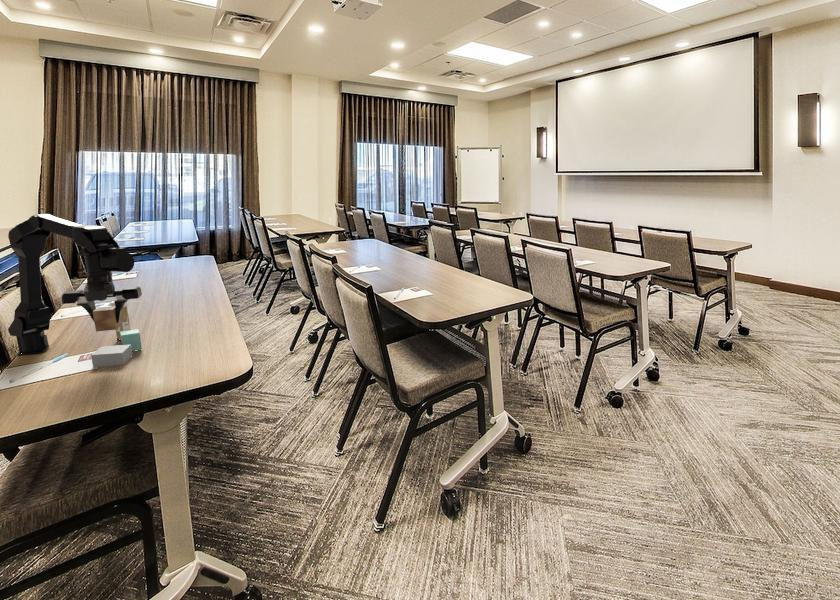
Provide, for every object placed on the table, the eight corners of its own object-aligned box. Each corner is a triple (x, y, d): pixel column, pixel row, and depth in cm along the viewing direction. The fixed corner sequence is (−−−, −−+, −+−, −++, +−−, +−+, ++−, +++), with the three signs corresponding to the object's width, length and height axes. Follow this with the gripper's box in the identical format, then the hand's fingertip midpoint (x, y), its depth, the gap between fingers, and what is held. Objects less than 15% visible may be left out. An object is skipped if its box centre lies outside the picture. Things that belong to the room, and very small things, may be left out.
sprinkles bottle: (132, 339, 161) (127, 301, 158) (116, 341, 159) (110, 303, 156) (131, 336, 165) (126, 298, 162) (116, 338, 163) (110, 300, 160)
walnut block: (96, 331, 135) (92, 311, 134) (100, 327, 140) (97, 307, 138) (116, 329, 137) (112, 309, 136) (120, 325, 141) (117, 305, 140)
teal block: (123, 353, 147) (121, 335, 146) (122, 349, 151) (119, 331, 150) (142, 350, 150) (139, 332, 149) (140, 346, 154) (138, 329, 153)
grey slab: (93, 368, 136) (91, 355, 135) (103, 358, 144) (101, 346, 143) (124, 365, 138) (122, 352, 137) (133, 356, 145) (131, 344, 145)
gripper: (49, 277, 124) (59, 334, 127) (130, 273, 130) (138, 327, 134) (64, 271, 134) (73, 324, 138) (138, 267, 141) (145, 317, 144)
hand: (107, 323), depth 138 cm, fingers closed on walnut block, 5 cm apart
